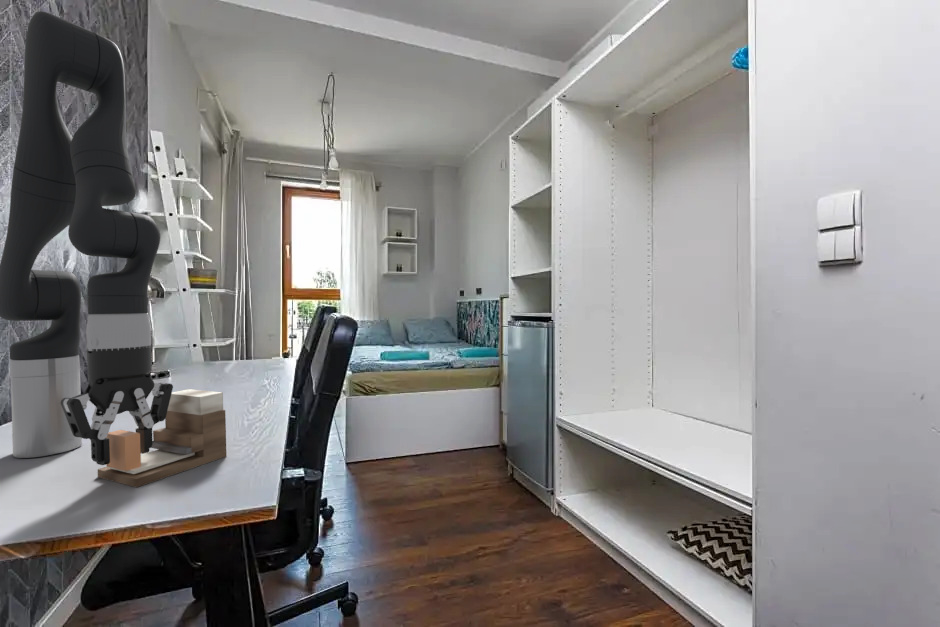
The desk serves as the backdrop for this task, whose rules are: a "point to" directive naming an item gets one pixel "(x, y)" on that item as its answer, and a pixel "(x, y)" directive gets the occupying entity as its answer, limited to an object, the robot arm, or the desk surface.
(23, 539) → the desk surface
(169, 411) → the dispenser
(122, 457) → the plank with orange cube
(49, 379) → the robot arm
